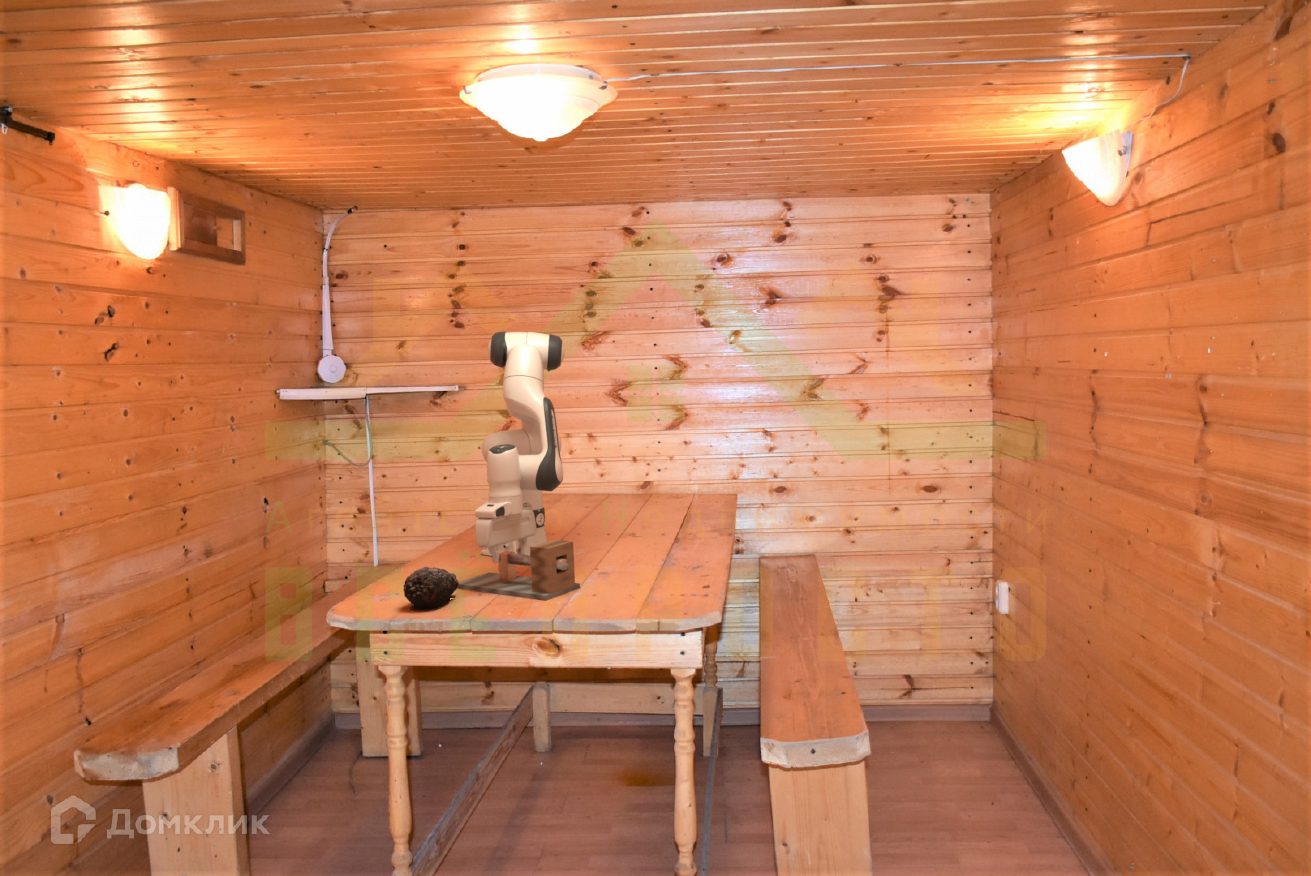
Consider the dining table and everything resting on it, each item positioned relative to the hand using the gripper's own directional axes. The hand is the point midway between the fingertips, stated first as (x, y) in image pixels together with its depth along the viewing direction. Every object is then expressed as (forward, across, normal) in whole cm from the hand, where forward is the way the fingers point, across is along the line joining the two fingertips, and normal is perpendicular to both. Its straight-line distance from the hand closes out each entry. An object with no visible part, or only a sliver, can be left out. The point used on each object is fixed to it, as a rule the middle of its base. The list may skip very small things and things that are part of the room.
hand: (509, 558), depth 246 cm
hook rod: (+6, 0, +8) cm, 10 cm away
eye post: (+8, 0, +2) cm, 8 cm away
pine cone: (+8, +21, -7) cm, 24 cm away
